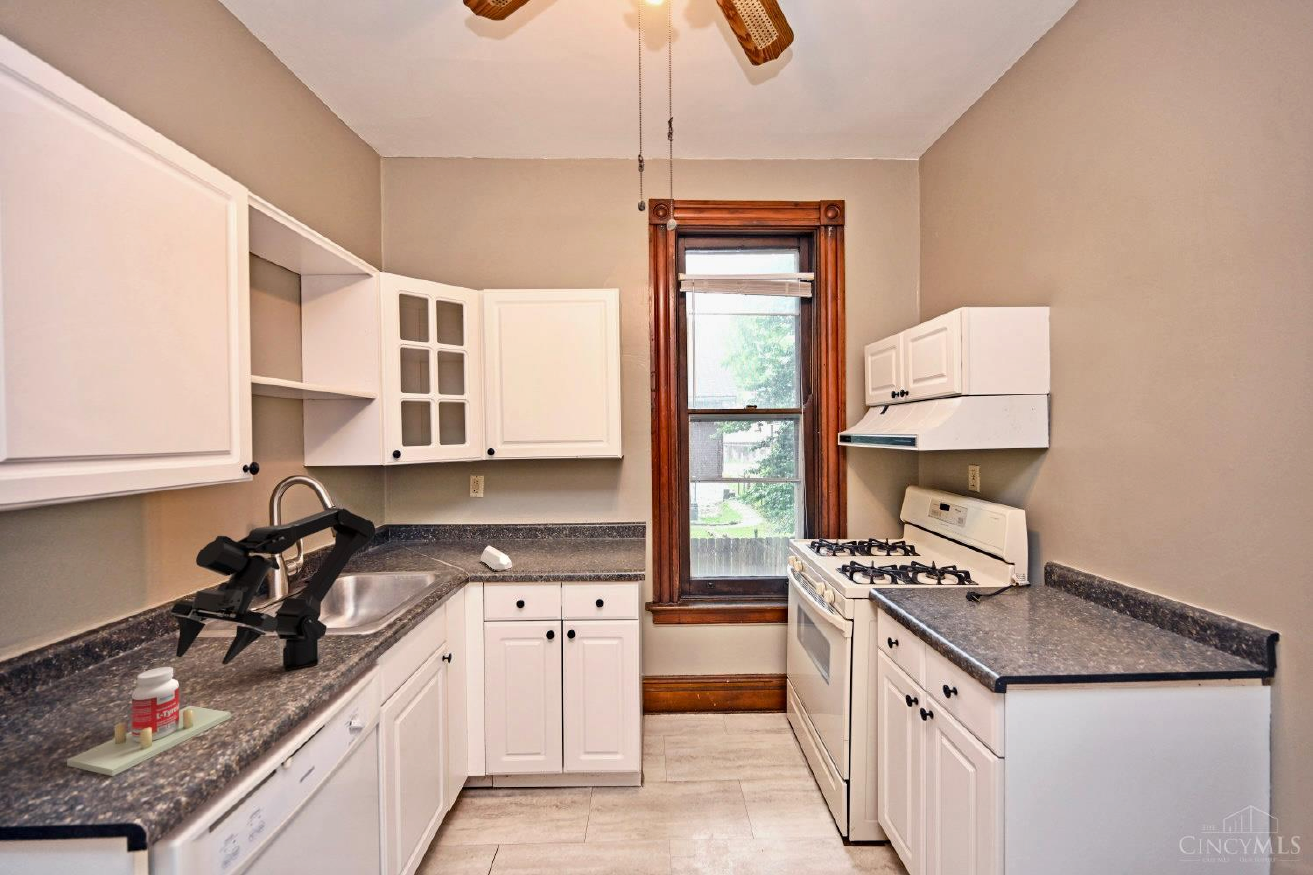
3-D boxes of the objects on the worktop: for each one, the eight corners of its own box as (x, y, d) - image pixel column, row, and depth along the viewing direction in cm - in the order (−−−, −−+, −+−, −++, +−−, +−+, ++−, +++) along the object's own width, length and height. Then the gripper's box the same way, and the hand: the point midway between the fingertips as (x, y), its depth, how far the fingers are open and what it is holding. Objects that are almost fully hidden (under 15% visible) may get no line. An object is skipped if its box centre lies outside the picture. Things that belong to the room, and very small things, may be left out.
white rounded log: (474, 553, 228) (491, 564, 208) (489, 543, 231) (506, 552, 211) (483, 566, 230) (500, 578, 210) (497, 556, 233) (515, 567, 213)
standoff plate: (189, 710, 104) (189, 690, 104) (230, 717, 101) (230, 696, 101) (67, 765, 87) (66, 741, 87) (112, 776, 84) (112, 751, 84)
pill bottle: (159, 742, 91) (158, 679, 91) (121, 744, 91) (120, 680, 91) (188, 723, 97) (187, 663, 97) (153, 725, 97) (152, 665, 97)
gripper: (175, 564, 106) (123, 645, 97) (266, 578, 106) (222, 661, 97) (210, 580, 115) (165, 655, 107) (294, 593, 115) (256, 670, 107)
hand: (201, 660), depth 104 cm, fingers open, 9 cm apart
